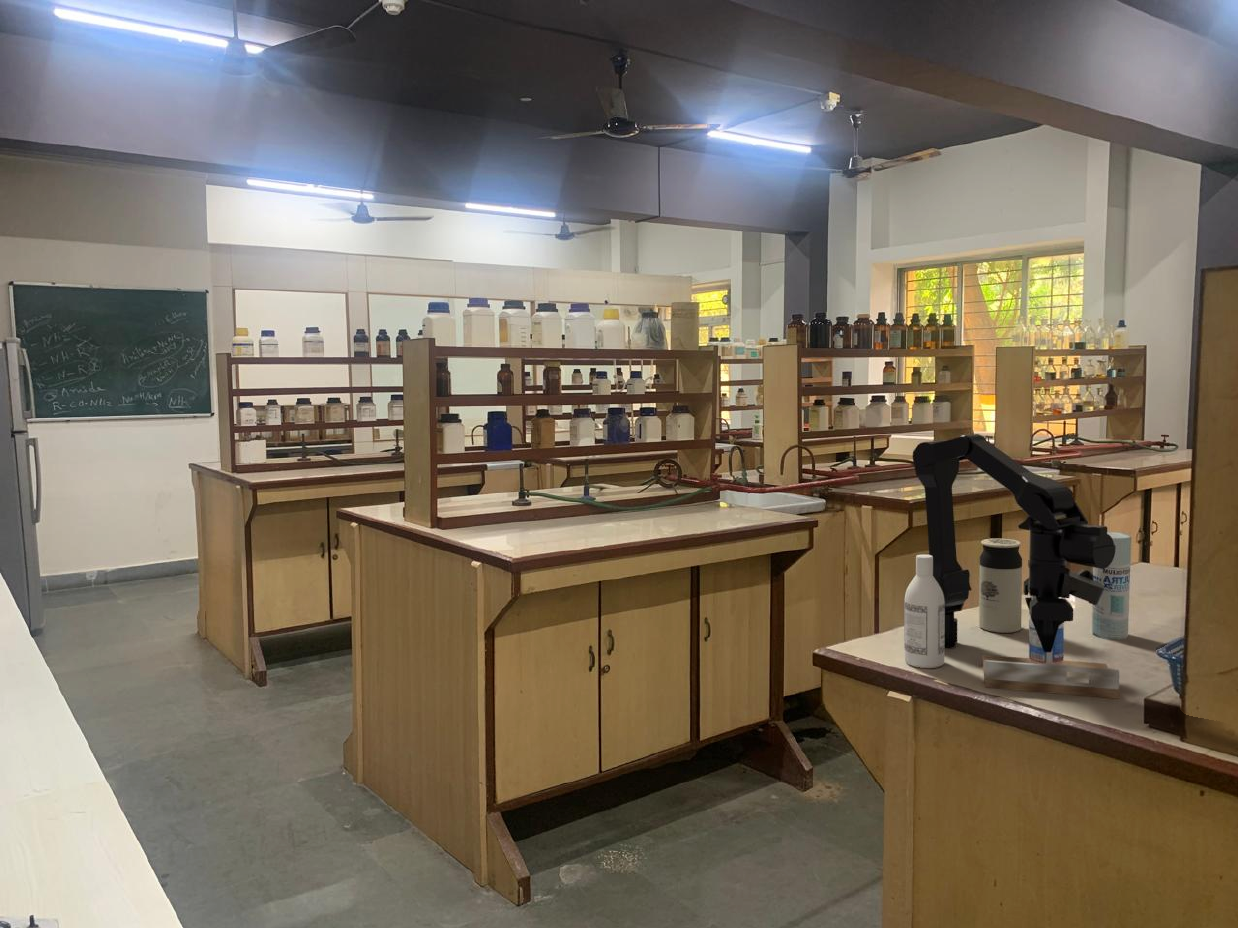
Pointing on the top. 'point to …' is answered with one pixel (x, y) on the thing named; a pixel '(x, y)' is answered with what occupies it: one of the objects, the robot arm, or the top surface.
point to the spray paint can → (1114, 592)
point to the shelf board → (1051, 676)
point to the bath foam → (924, 617)
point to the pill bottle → (1037, 651)
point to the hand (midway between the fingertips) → (1045, 646)
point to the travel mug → (1000, 586)
